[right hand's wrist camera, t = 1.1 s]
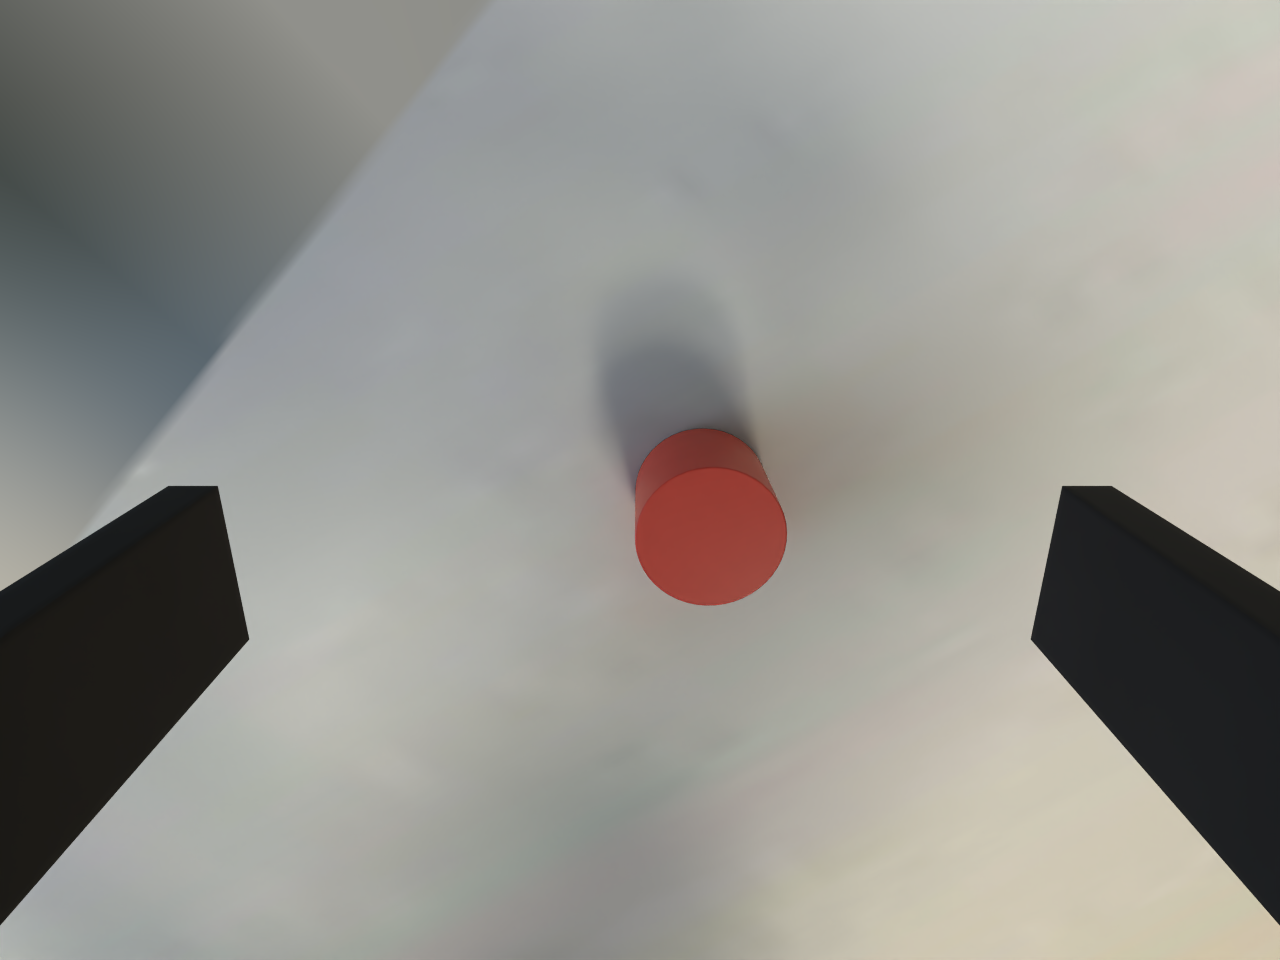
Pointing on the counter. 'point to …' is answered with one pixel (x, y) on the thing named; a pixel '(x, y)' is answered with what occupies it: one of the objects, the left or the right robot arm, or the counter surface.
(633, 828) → the counter surface
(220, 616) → the right robot arm
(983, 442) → the counter surface
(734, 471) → the cylinder
